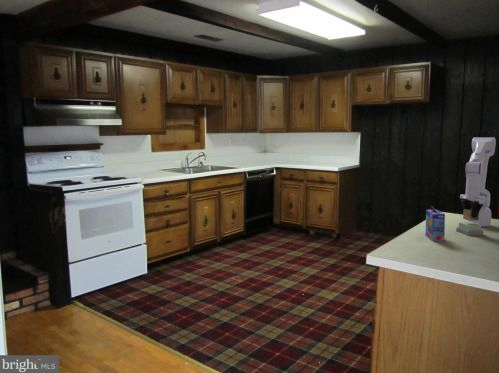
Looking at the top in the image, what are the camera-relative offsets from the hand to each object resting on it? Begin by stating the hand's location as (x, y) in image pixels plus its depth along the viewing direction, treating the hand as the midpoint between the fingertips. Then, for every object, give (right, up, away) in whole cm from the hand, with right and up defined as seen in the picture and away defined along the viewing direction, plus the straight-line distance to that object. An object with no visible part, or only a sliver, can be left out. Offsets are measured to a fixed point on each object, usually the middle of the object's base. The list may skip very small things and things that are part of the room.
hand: (470, 216), depth 190 cm
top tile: (0, -6, +1) cm, 6 cm away
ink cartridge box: (-20, -10, -6) cm, 23 cm away
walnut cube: (0, -1, 0) cm, 1 cm away
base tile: (0, -8, +1) cm, 9 cm away
